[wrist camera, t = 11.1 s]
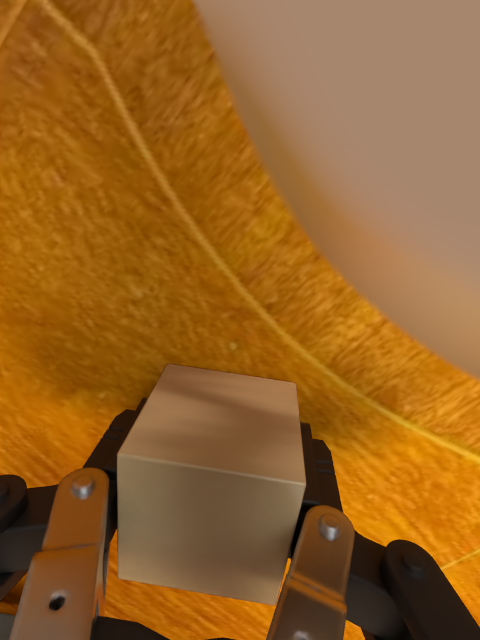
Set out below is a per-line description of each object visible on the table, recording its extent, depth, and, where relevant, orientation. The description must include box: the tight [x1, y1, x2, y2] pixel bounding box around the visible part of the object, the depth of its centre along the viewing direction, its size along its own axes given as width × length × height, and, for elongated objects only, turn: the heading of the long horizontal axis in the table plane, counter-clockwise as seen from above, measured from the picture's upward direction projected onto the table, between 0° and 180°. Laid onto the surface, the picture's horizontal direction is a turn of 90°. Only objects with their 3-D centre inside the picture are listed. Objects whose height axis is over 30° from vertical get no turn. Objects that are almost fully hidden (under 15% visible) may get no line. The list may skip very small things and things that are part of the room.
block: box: [117, 364, 306, 605], centre depth 12 cm, size 5×5×5 cm
